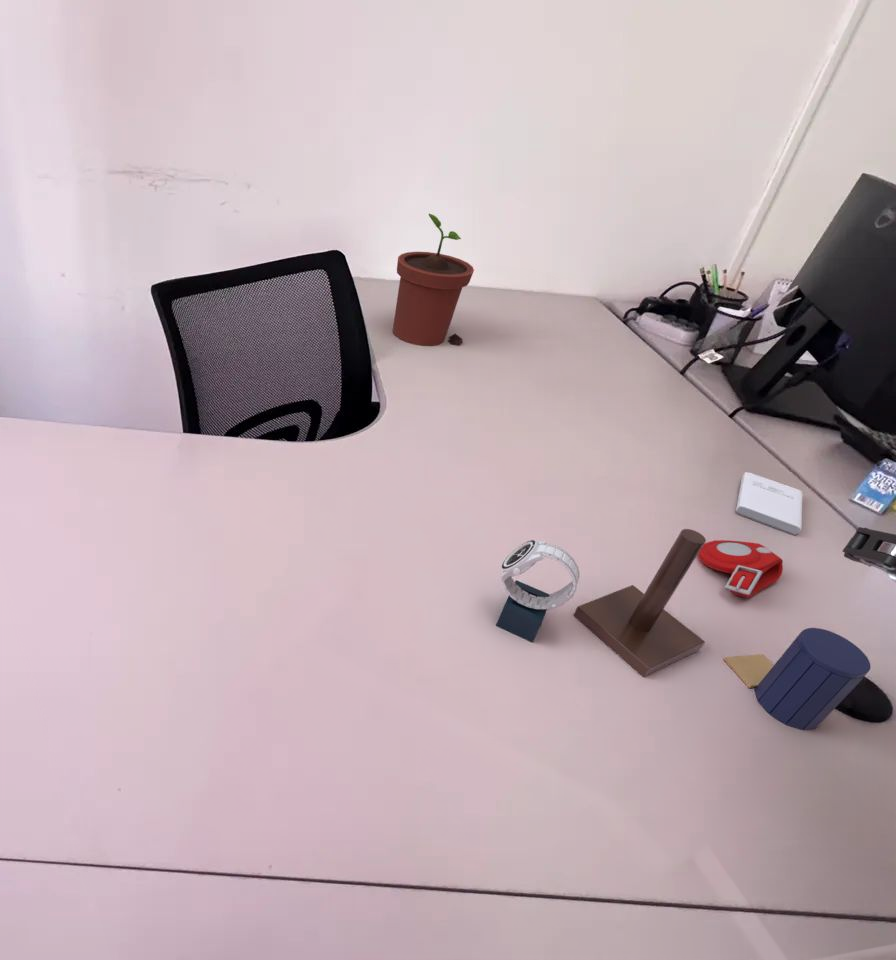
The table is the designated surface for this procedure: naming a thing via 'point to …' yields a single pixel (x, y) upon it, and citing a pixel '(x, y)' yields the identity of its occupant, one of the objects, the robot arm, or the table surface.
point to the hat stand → (647, 614)
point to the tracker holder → (743, 565)
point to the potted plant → (429, 294)
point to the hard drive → (770, 503)
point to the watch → (532, 589)
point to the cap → (804, 677)
